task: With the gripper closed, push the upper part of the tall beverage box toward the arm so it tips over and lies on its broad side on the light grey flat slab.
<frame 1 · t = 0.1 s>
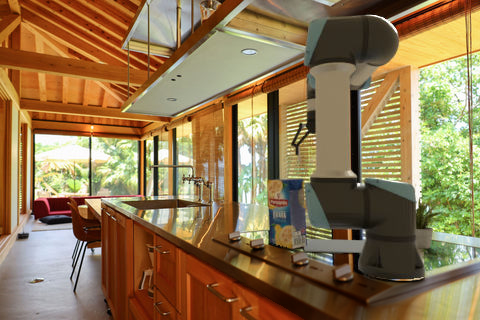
hand: (316, 163, 135), 28 cm above the counter, tool pointing down, fingers open, 13 cm apart
light grey flat slab: (336, 246, 112), on the counter
house plant: (419, 247, 112), on the counter
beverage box: (288, 245, 114), on the counter, touching light grey flat slab
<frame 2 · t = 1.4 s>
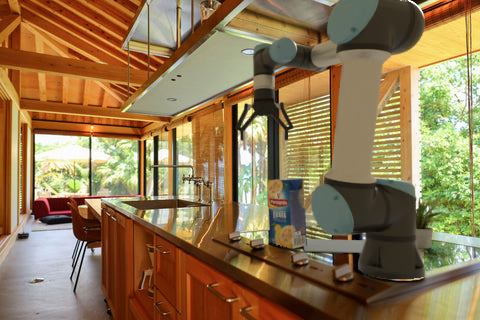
hand: (264, 150, 118), 32 cm above the counter, tool pointing down, fingers open, 13 cm apart
nothing on the counter moved.
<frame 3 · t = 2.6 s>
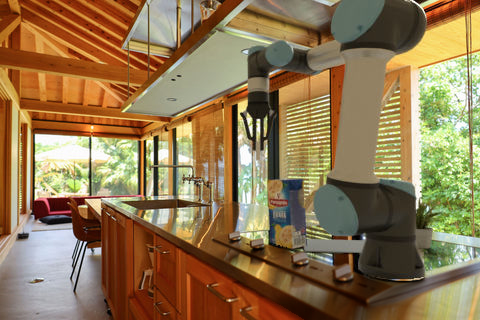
hand: (258, 160, 116), 29 cm above the counter, tool pointing down, fingers closed
nothing on the counter moved.
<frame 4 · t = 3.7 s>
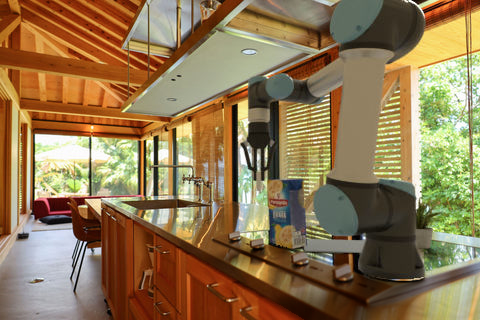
hand: (258, 190, 116), 18 cm above the counter, tool pointing down, fingers closed
nothing on the counter moved.
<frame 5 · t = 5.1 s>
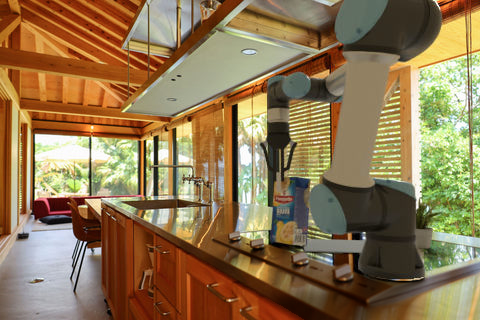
hand: (278, 191, 115), 18 cm above the counter, tool pointing down, fingers closed
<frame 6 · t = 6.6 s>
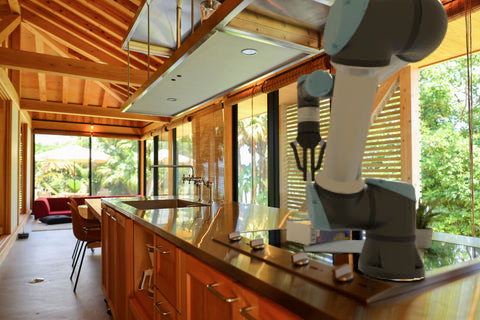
hand: (308, 191, 114), 18 cm above the counter, tool pointing down, fingers closed
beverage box: (296, 232, 116), point 4 cm above the counter, touching light grey flat slab
everything else where it was.
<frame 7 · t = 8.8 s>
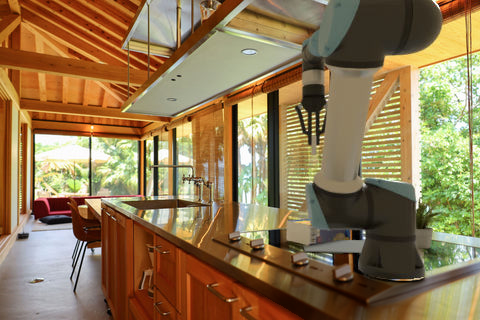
hand: (313, 154, 114), 31 cm above the counter, tool pointing down, fingers closed
nothing on the counter moved.
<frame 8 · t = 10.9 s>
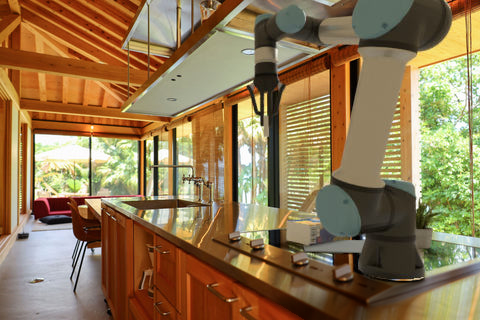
hand: (266, 136, 109), 36 cm above the counter, tool pointing down, fingers closed
nothing on the counter moved.
at the end: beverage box tilted 91°; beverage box inside the target area (4.5 cm from its centre), point 3.9 cm above the counter; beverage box touching light grey flat slab, counter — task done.
